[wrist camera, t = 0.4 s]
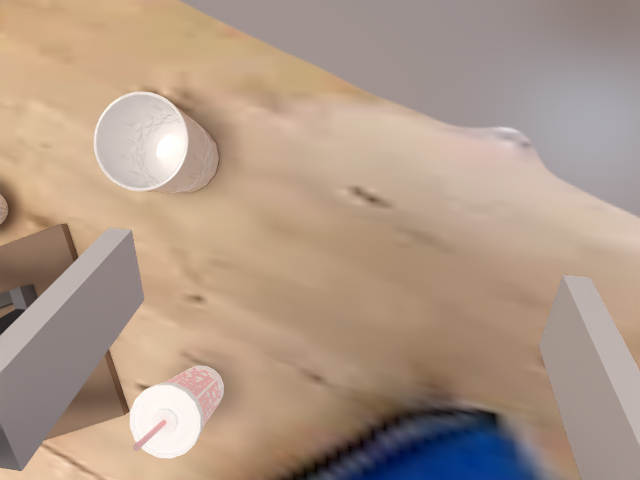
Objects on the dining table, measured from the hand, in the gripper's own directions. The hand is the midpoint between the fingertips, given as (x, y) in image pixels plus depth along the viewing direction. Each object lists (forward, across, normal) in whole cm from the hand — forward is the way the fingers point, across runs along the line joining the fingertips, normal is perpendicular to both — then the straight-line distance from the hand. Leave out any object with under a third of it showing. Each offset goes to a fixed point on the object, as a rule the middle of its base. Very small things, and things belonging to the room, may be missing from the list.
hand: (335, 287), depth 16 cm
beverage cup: (+21, +15, +30) cm, 40 cm away
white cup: (+32, +18, +10) cm, 39 cm away
